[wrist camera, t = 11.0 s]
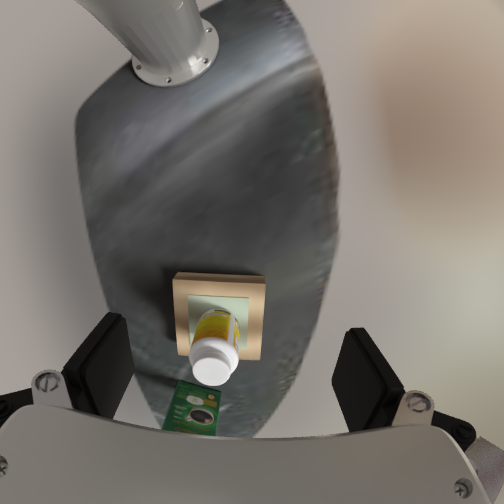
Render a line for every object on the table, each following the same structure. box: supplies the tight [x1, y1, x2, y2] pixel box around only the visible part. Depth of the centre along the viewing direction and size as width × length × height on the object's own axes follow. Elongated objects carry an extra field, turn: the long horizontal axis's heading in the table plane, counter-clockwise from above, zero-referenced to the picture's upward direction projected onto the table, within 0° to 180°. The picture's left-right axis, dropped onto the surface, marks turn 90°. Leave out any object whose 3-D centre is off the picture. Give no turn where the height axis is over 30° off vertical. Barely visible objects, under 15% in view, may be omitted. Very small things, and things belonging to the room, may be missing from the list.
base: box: [173, 272, 266, 360], centre depth 38 cm, size 12×12×3 cm
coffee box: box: [161, 380, 222, 436], centre depth 37 cm, size 8×3×13 cm, turn 72°
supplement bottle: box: [189, 309, 240, 386], centre depth 31 cm, size 6×6×10 cm
